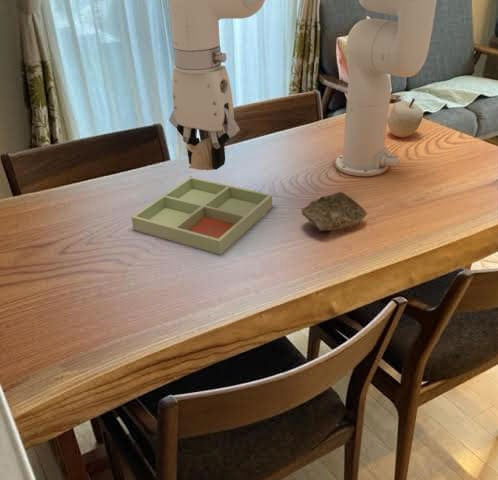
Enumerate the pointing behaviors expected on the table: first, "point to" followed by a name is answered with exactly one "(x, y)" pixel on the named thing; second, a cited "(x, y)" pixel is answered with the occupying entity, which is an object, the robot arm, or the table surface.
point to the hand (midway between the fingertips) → (206, 163)
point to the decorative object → (404, 118)
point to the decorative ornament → (201, 155)
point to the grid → (203, 214)
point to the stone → (334, 212)
